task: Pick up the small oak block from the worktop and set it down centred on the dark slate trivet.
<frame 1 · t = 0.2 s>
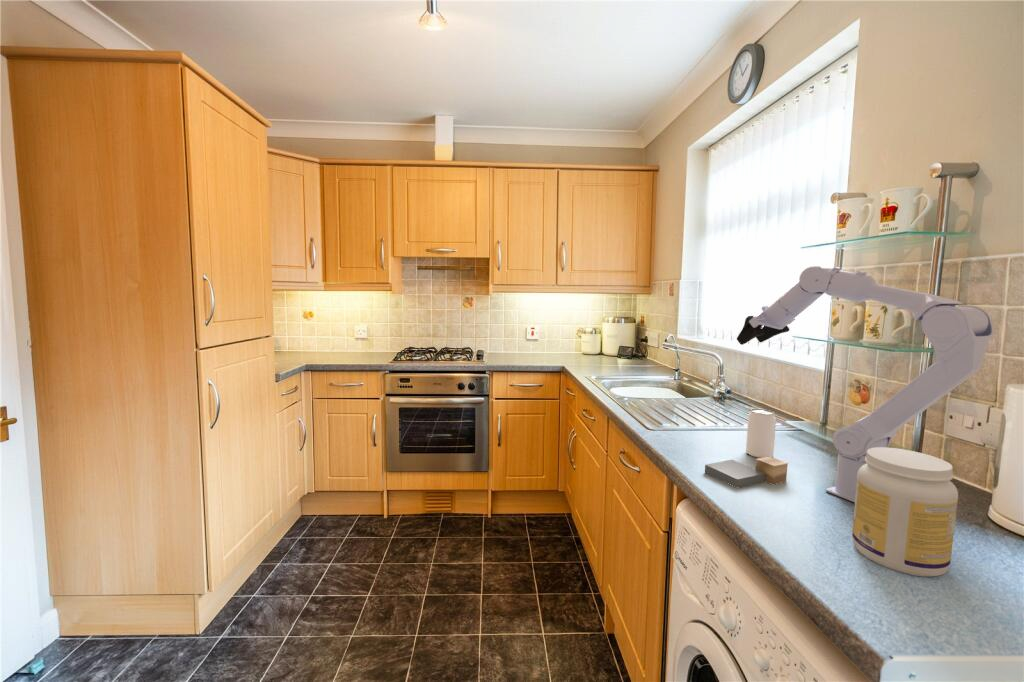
hand: (748, 340, 115), 31 cm above the table, tool tilted 45°, fingers open, 7 cm apart
supplement tub: (896, 557, 72), on the table
can: (759, 455, 118), on the table
slate base: (734, 477, 103), on the table
oak block: (770, 479, 102), on the table
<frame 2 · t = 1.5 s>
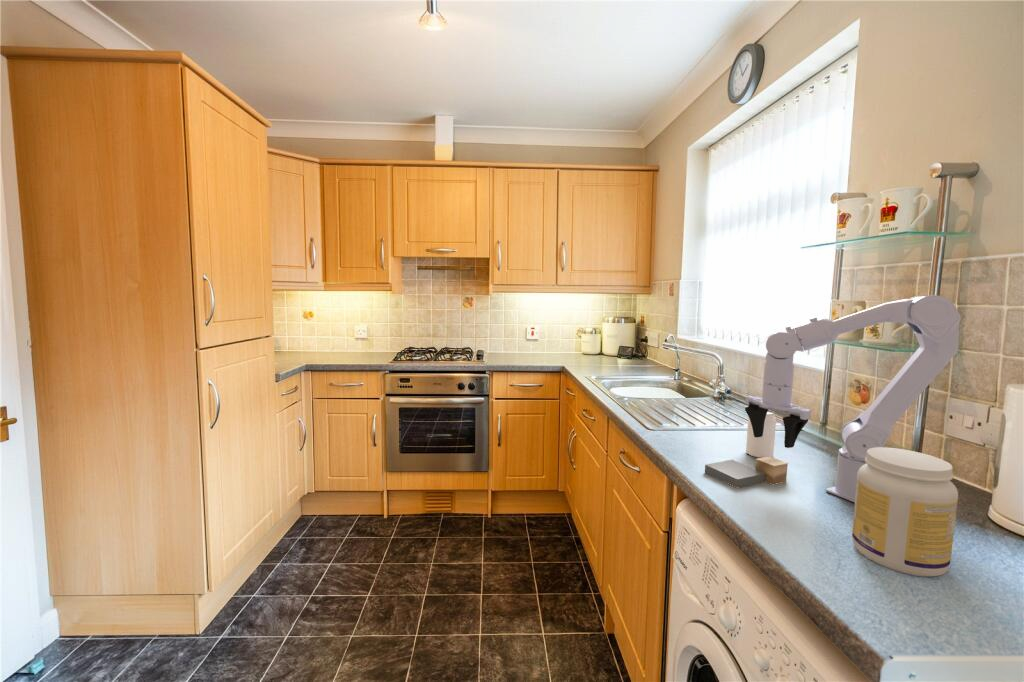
hand: (773, 441, 101), 9 cm above the table, tool pointing down, fingers open, 7 cm apart
nothing on the table moved.
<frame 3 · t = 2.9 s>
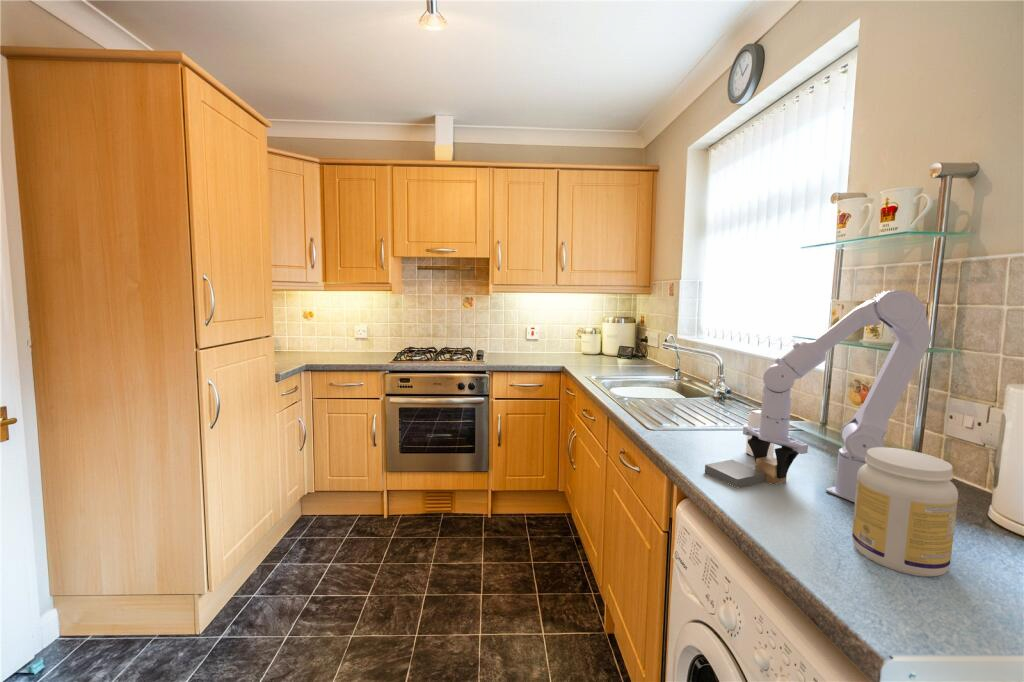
hand: (770, 473, 102), 1 cm above the table, tool pointing down, fingers closed on oak block, 4 cm apart
oak block: (770, 479, 102), on the table, touching gripper
everything else where it was.
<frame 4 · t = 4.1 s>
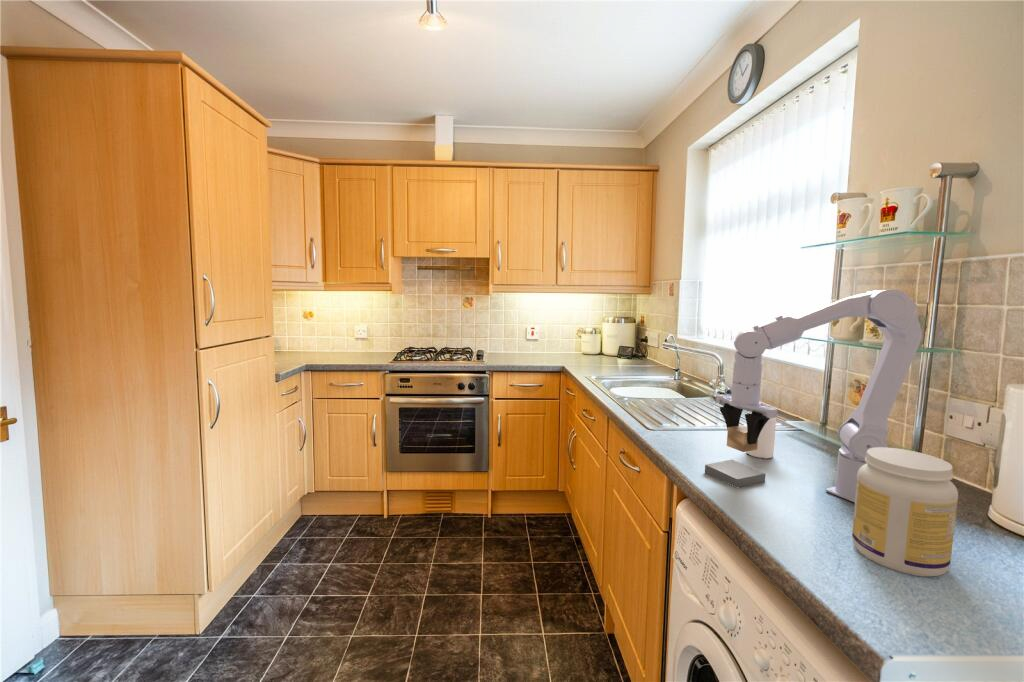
hand: (742, 440, 102), 9 cm above the table, tool pointing down, fingers closed on oak block, 4 cm apart
oak block: (741, 447, 102), point 7 cm above the table, touching gripper
everything else where it was.
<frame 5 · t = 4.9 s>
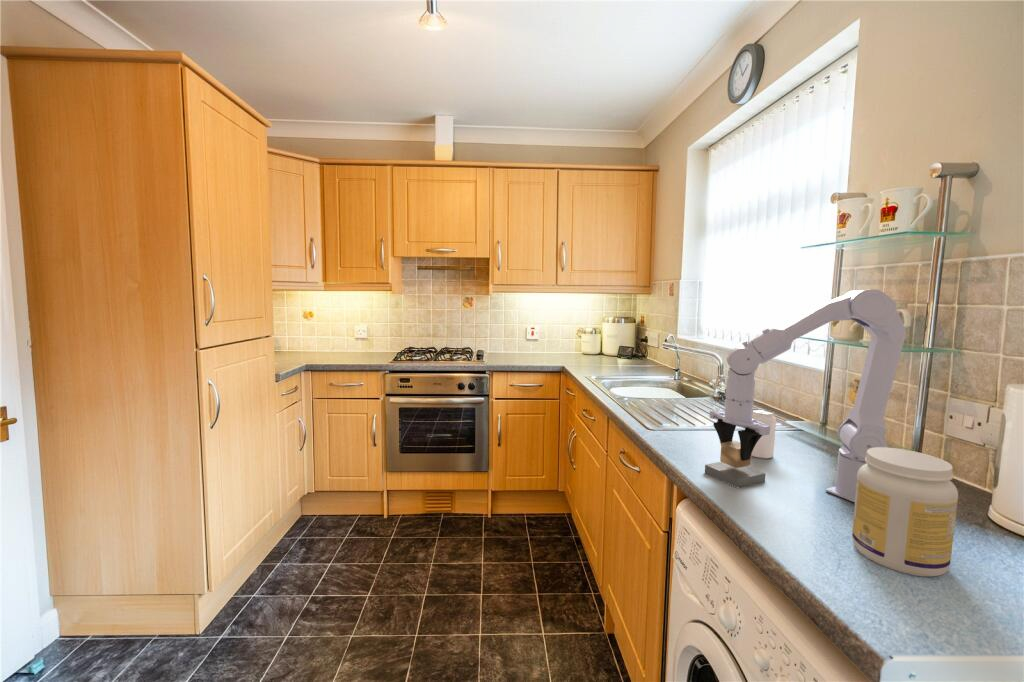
hand: (735, 455, 102), 5 cm above the table, tool pointing down, fingers closed on oak block, 4 cm apart
oak block: (735, 463, 103), point 3 cm above the table, touching gripper
everything else where it was.
when the fingers open (5 cm above the table, at t = 5.5 s): oak block stays where it is, resting on slate base.
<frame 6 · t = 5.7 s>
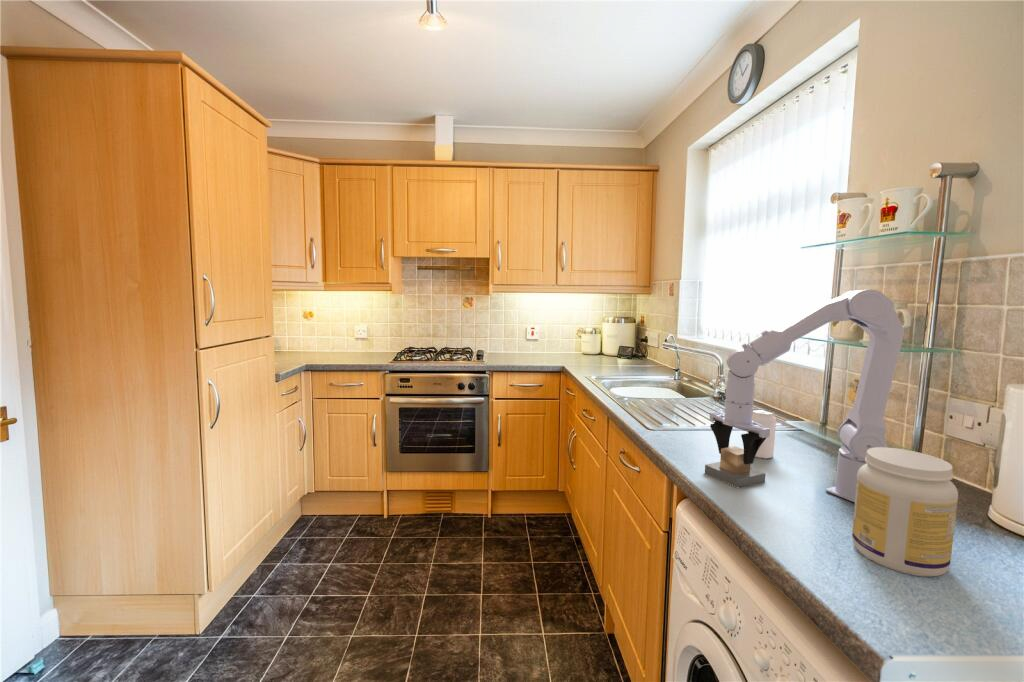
hand: (735, 458, 102), 5 cm above the table, tool pointing down, fingers open, 6 cm apart
oak block: (734, 468, 103), point 2 cm above the table, touching slate base
everything else where it was.
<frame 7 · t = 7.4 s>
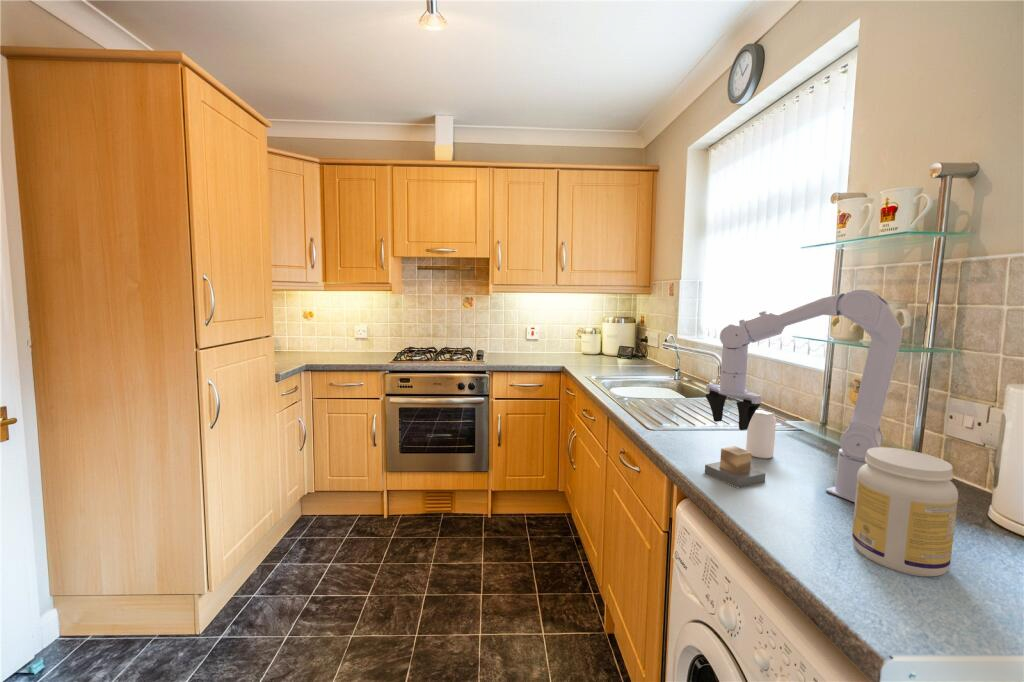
hand: (730, 425, 111), 10 cm above the table, tool pointing down, fingers open, 7 cm apart
nothing on the table moved.
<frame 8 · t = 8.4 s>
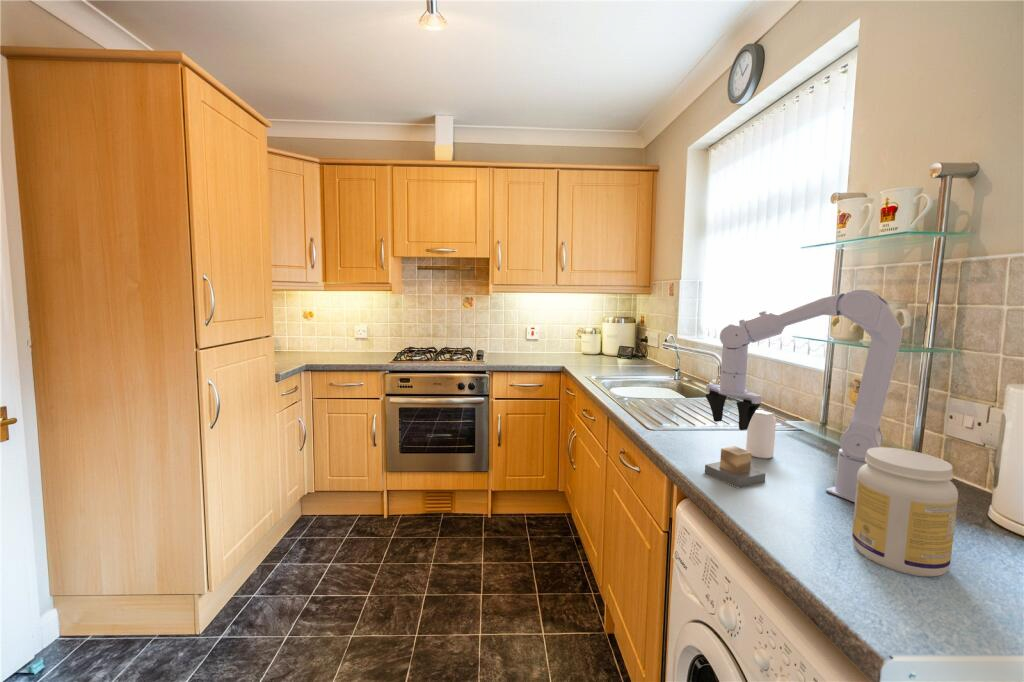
hand: (730, 425, 111), 10 cm above the table, tool pointing down, fingers open, 7 cm apart
nothing on the table moved.
at the end: oak block inside the target area on the slate base (0.0 cm from its centre), point 2.0 cm above the slate base's base; oak block tilted 0°; the gripper is holding nothing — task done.
